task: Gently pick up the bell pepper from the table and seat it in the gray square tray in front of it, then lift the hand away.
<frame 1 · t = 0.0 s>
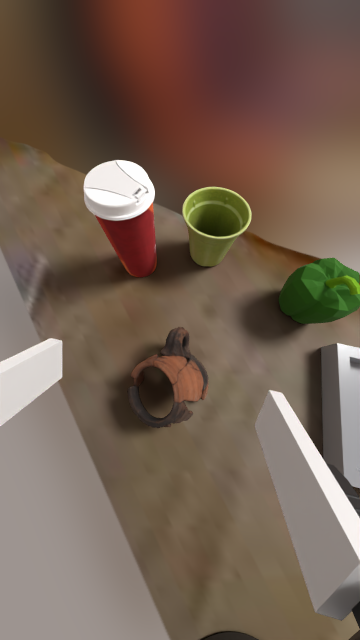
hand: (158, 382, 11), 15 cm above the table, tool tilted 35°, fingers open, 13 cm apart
pottery mug: (173, 375, 27), on the table
plant pot: (206, 253, 33), on the table
bell pepper: (294, 306, 30), on the table
paper cup: (141, 264, 32), on the table
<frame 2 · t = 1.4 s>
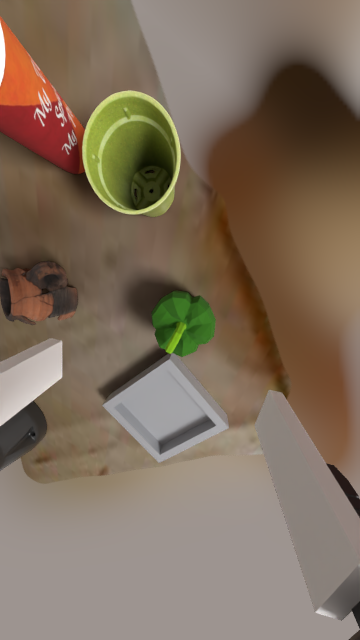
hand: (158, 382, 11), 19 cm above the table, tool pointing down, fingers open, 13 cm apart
pottery mug: (56, 289, 31), on the table
plant pot: (153, 193, 25), on the table
bell pepper: (185, 311, 30), on the table
gray square tray: (166, 403, 35), on the table
paper cup: (74, 150, 25), on the table
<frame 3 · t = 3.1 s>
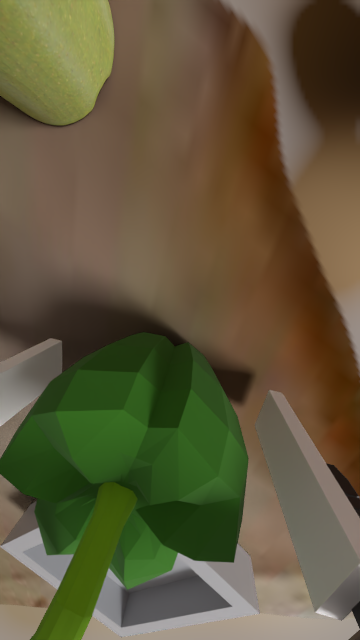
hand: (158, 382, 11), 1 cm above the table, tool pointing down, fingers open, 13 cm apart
plant pot: (58, 50, 9), on the table
bell pepper: (163, 369, 13), on the table
gray square tray: (134, 529, 18), on the table
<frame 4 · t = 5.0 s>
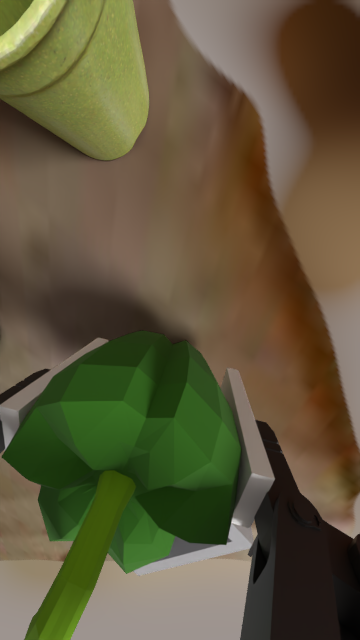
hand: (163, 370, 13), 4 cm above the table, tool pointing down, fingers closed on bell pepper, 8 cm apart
plant pot: (107, 107, 12), on the table
bell pepper: (161, 367, 13), point 3 cm above the table, touching gripper
gray square tray: (150, 485, 22), on the table
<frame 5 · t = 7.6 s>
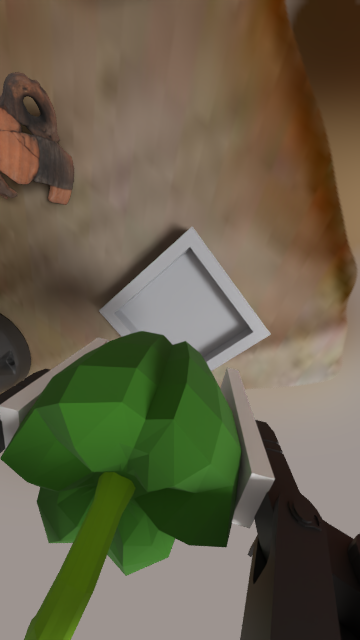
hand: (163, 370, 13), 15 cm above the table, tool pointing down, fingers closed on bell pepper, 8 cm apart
pottery mug: (45, 164, 23), on the table
bell pepper: (161, 367, 13), point 14 cm above the table, touching gripper
gray square tray: (183, 316, 27), on the table
when the fingers open (3 cm above the table, at t = 10.4 s): bell pepper drops 2 cm, resting on gray square tray.
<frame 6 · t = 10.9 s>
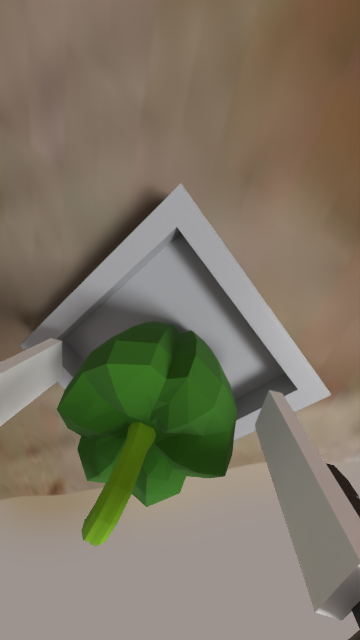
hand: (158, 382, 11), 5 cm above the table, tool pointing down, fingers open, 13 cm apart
bell pepper: (169, 354, 15), point 1 cm above the table, touching gray square tray
gray square tray: (171, 349, 16), on the table
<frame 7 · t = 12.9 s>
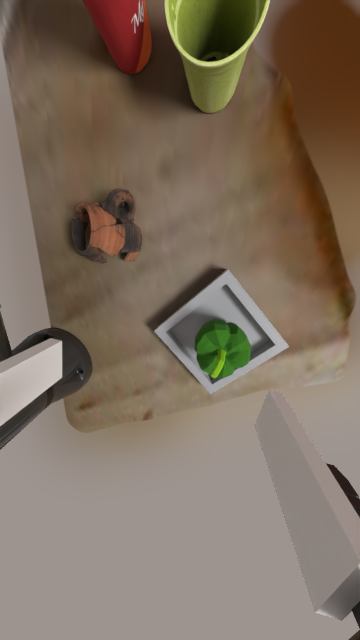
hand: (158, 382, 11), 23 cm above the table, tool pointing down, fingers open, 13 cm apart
pottery mug: (119, 232, 32), on the table
plant pot: (213, 86, 25), on the table
bell pepper: (218, 334, 33), point 1 cm above the table, touching gray square tray
gray square tray: (217, 332, 34), on the table
paper cup: (132, 47, 25), on the table
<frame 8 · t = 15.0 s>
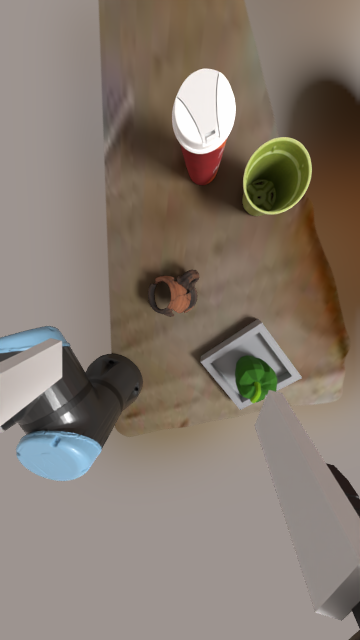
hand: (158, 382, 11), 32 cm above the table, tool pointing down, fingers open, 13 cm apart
pottery mug: (179, 290, 42), on the table
plant pot: (258, 198, 35), on the table
bell pepper: (247, 365, 44), point 1 cm above the table, touching gray square tray
gray square tray: (247, 363, 45), on the table
paper cup: (202, 168, 35), on the table
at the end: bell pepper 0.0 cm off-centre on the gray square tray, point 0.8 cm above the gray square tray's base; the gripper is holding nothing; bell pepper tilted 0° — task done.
